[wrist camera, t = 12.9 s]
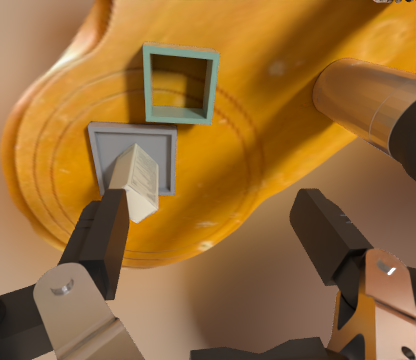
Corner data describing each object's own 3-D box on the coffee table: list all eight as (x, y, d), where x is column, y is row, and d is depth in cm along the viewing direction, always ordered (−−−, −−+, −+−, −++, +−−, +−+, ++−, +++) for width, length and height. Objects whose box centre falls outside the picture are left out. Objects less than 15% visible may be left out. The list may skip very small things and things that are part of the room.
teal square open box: (213, 48, 34) (220, 53, 30) (206, 113, 39) (211, 124, 35) (145, 41, 32) (142, 45, 28) (148, 110, 38) (145, 121, 34)
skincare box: (117, 155, 41) (101, 200, 31) (136, 141, 40) (126, 182, 30) (142, 178, 44) (136, 225, 34) (161, 165, 43) (159, 210, 33)
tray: (176, 125, 40) (176, 130, 38) (174, 189, 48) (174, 195, 46) (90, 121, 38) (87, 126, 36) (103, 189, 45) (100, 195, 44)
